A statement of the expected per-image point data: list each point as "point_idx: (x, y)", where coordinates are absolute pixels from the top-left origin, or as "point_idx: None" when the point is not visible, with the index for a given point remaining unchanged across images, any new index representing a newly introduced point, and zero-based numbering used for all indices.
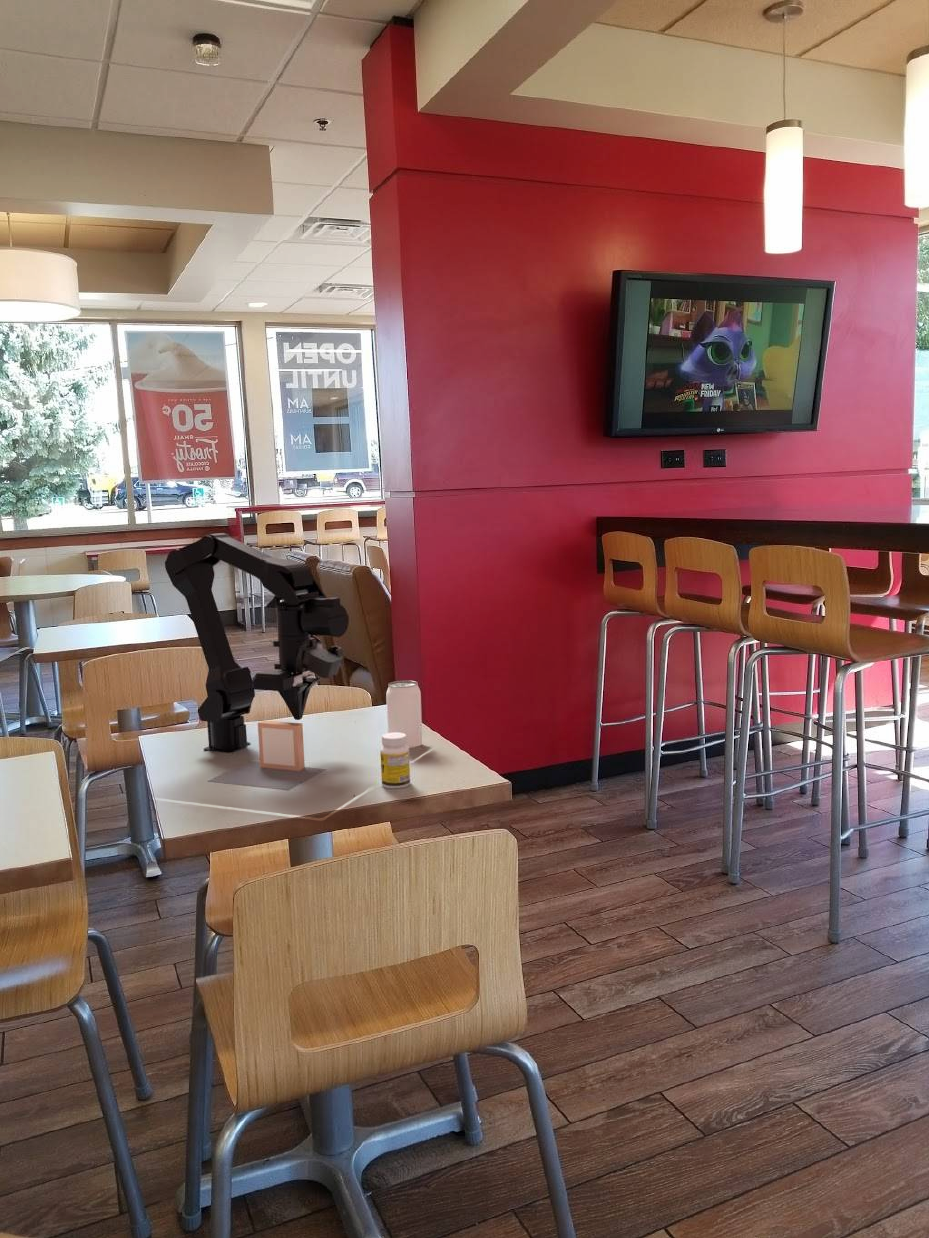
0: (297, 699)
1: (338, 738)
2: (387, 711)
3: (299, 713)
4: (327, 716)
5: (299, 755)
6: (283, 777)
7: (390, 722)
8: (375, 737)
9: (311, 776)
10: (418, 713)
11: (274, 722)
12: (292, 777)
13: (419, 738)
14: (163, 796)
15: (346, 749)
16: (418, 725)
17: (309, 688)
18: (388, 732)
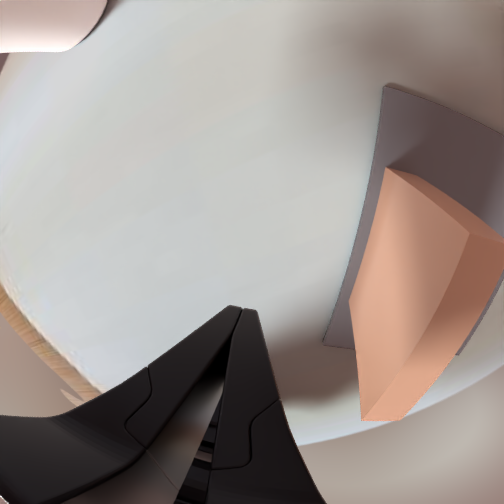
0: (290, 440)
1: (65, 209)
2: (9, 23)
3: (263, 335)
4: (14, 286)
5: (432, 187)
6: (471, 203)
7: (47, 5)
8: (38, 125)
9: (461, 118)
10: None
11: (411, 381)
12: (471, 176)
13: None
14: (494, 369)
15: (128, 131)
16: None
17: (72, 434)
18: (63, 25)
